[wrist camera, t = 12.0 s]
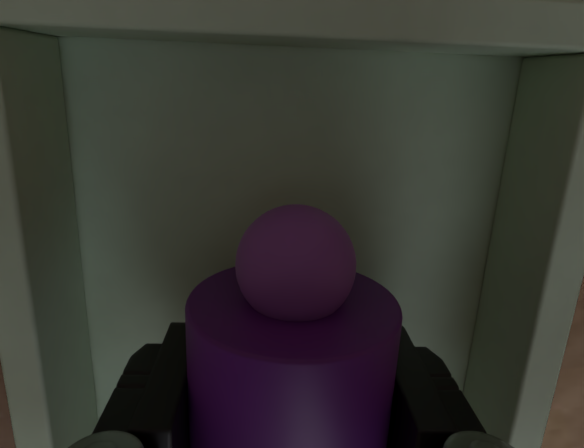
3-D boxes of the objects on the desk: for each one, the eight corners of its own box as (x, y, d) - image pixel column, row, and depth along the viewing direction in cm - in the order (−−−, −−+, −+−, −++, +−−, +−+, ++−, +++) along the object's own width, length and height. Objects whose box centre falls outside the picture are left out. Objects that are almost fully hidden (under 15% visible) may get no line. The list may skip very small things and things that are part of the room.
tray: (29, -3, 10) (-71, -36, 7) (548, 22, 11) (653, 2, 8) (93, 536, 15) (49, 652, 12) (451, 533, 15) (493, 641, 12)
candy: (199, 179, 10) (156, 242, 6) (383, 184, 10) (452, 248, 6) (205, 492, 13) (179, 674, 9) (352, 490, 13) (389, 667, 9)
